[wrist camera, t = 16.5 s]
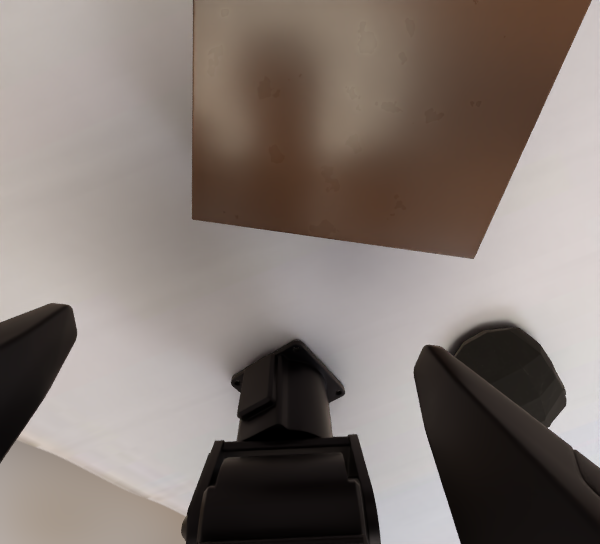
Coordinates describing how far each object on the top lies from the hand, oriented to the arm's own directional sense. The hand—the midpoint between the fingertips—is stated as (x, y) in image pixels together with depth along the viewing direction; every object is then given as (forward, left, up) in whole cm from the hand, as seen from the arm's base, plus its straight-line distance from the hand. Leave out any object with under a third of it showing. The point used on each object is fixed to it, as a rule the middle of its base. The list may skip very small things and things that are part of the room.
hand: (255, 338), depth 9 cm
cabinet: (+3, -7, -12) cm, 14 cm away
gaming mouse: (-23, -6, -12) cm, 27 cm away
